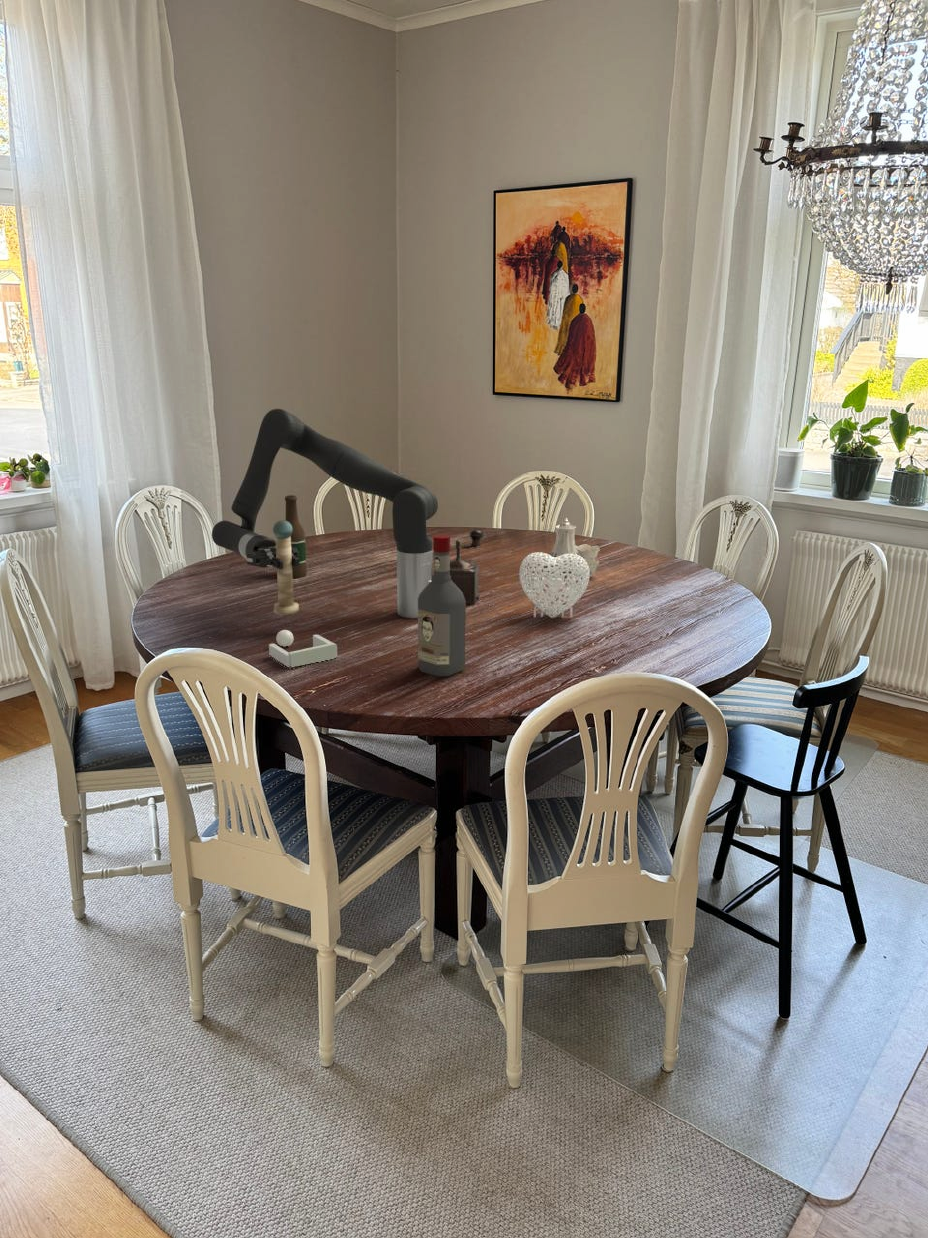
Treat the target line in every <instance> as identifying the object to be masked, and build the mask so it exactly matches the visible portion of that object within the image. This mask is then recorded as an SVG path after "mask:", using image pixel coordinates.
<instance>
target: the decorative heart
mask: <svg viewBox="0 0 928 1238" xmlns="http://www.w3.org/2000/svg"><path fill="white" fill-rule="evenodd" d="M568 556H569V557H568ZM568 558H571V559H570V560H568ZM578 560H579V561H580V562H579V561H578ZM547 561H548V563H547ZM563 561H566V562H563ZM569 561H571V563H569ZM575 561H576V562H575ZM556 562H557V563H556ZM520 563H521V564H520V566H519V571H518V573H519V575H518V576H519V583H520V585H521V588H522V590H523V592H524V594H525V595H526V596H527V598H528V599H529V600H530V602H531V603H533V605H534V606H533V607H534V608H533V618H537V609H538V610H539V611H541V612H540V617H541V618H543V617H544V614H545V615H547V616H548V617H550V619H555V618H557V616H560V615H561V618H563V619H564V618H565V611H567V610H569V609H570V611H569V618H570V619H572V618H573V609H574V608H573V606H574V605H575V604H576V603H577V602H578V601H579V600H580V599H581V597H582V596H583V595H584V593H585V592H586V590H587V588H588V585H589V582H590V577H591V575H590V571H589V566H588V564H587V562H586V561H585V560H584V559H583V558H582V557H581V556H579V555H577V554H564V555H561V556H558V557H552V556H550V555H549V554H548V553H545V552H541V551H540V552H531V553H530V554H527V556H525V557H524V559H523V560H522V561H521V562H520ZM573 563H575V564H573ZM577 563H579V565H578V564H577ZM581 563H582V564H581ZM565 564H567V565H565ZM551 565H553V567H551ZM555 565H558V566H557V567H556V566H555ZM570 565H572V566H570ZM574 565H576V566H574ZM573 567H574V568H573ZM559 568H561V569H559ZM564 568H566V569H564ZM578 568H579V569H578ZM569 569H570V570H569ZM576 570H577V571H576ZM581 570H582V571H581ZM564 571H566V573H562V572H564ZM569 571H571V572H569ZM578 571H579V572H578ZM568 572H569V573H568ZM576 574H577V576H576ZM579 575H580V577H579ZM565 577H566V578H565ZM581 577H582V578H581ZM584 577H585V578H584ZM566 585H567V586H566ZM544 590H545V591H544ZM560 590H561V592H559V591H560ZM564 603H565V604H564Z"/></svg>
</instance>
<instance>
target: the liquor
mask: <svg viewBox="0 0 928 1238" xmlns="http://www.w3.org/2000/svg"><path fill="white" fill-rule="evenodd" d="M432 538H433V539H432V542H433V577H432V578H433V580H432V581H431V582H430V583H429V584H428V585H427V586H426V587H425V588H424V589H423V591H422V592H421V593H420V594H419V597H418V618H417V664H418V669H419V671H420V672H421V673H425V674H428V675H431V676H434V677H438V678H439V677H451V676H453V675H455V674H458V673H460V672H462V671H464V669H465V668H466V615H467V613H466V611H467V610H466V608H467V605H466V601H465V598H464V595H463V593H462V591H461V590H460V589H459V588H458V587H457V586H456V585H455V584H454V583H453V582H452V580H451V576H450V561H451V560H450V555H451V554H450V552H451V536H450V535H448V534H435V535H433V537H432Z"/></svg>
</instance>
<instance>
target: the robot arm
mask: <svg viewBox="0 0 928 1238" xmlns="http://www.w3.org/2000/svg"><path fill="white" fill-rule="evenodd" d="M280 449H283V450H286V451H290V452H292V453H294V454H297V455H299V456H301V457H304V458H305V459H308V460H309V461H311V462H312V463H313V464H314V465H315V466H316V467H318V468H319V469H321V470H322V471H323V472H324V473H325V474H327V475H328V476H329V477H331V478H333V479H334V480H336V481H338V482H339V483H341V484H343V485H344V486H346V487H349V488H350V489H353V490H355V491H359V492H362V493H365V494H370V495H375V496H378V497H380V498H384V499H385V500H388V501H390V502H391V503H392V508H391V509H392V510H391V511H392V512H391V513H392V514H391V515H392V532H393V538H394V541H395V543H396V580H397V581H396V584H397V587H396V588H397V589H396V592H397V595H396V597H397V614H398V616H400V617H403V618H406V619H407V618H408V619H418V597H419V594H420V593H421V592H422V591H423V589H424V588H425V587H426V586H427V585H428V584H429V583H430V582H431V581H432V580H433V578H432V577H433V574H434V551H433V539H432V538H431V537H430V536H428V533H427V532H428V531H427V521H428V520H430V519H431V518H432V517H434V515H436V514H437V511H438V509H439V503H438V498H437V496H436V495H435V493H434V492H433V491H432V490H431V489H430V488H429V487H427V486H425V485H423V484H420V483H419V482H416V481H414V480H411V479H409V478H406V477H405V476H402V475H400V474H398V473H395V472H394V471H392V470H390V469H389V468H387V467H386V466H384V465H382V463H381V464H380V463H379V462H378V461H375V460H373V459H372V458H370V457H369V456H367V455H366V454H364V453H362V452H360V451H359V450H357V449H355V448H353V447H352V446H349V445H347V444H345V443H343V442H340V441H338V440H335V439H332V438H329V437H327V436H324V435H323V434H321V433H320V432H318V431H316V430H315V429H313V428H312V427H311V426H309V425H307V424H306V423H305V422H304V421H302V420H301V419H300V418H298V417H297V416H296V415H294V414H292V413H291V412H289V411H287V410H285V409H283V408H273V409H271V410H269V411H268V412H266V414H265V415H264V416H263V418H262V421H261V423H260V427H259V430H258V435H257V438H256V440H255V444H254V447H253V451H252V455H251V458H250V461H249V464H248V468H247V470H246V473H245V475H244V478H243V480H242V482H241V484H240V486H239V489H238V491H237V493H236V495H235V498H234V500H233V502H232V504H231V511H232V512H233V514H235V515H236V516H238V517H239V518H240V519H241V525H239V524H236V523H235V522H232V521H229V520H221V521H217V522H216V524H214V526H213V528H212V531H211V539H212V541H213V542H214V544H215V545H216V546H218V547H221V548H223V549H226V550H229V551H232V552H233V553H235V554H237V555H238V556H241V557H242V558H244V559H245V560H246V565H250V566H254V567H258V568H263V569H264V568H275V569H277V568H278V569H283V561H282V560H280V559H278V558H276V539H273V538H270V537H269V536H266V535H264V534H261V533H257V532H255V528H256V524H257V519H258V518H257V517H258V514H259V512H260V510H261V508H262V506H263V504H264V503H265V502H264V501H265V500H266V497H267V494H268V491H269V486H270V482H271V481H270V479H271V473H272V469H273V464H274V462H275V458H276V457H277V455H278V452H279V451H280ZM291 554H292V566H294V567H299V565H300V562H299V552H298V550H297V548H296V547H292V549H291Z"/></svg>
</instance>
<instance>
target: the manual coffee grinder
mask: <svg viewBox="0 0 928 1238" xmlns="http://www.w3.org/2000/svg"><path fill="white" fill-rule="evenodd" d="M469 537H470V539H471V543H470V545H461V541H460V540H456V541H455V549H456V558H454V559H452V560H450V576H451V580H452V582H453V583H454V584H455V585H456V586H457V587H458V588H459V589H460V590H461V591H462V593H463V595H464V598H465V601H466V606H474V605H475V604H476V603H477V601H478V599H480V594H479V593H480V592H479V567H480V563H479V562H471V561H472V559H470V560H467V559H465V558H461V553H460V552H461V550H469V549H472V548H474V549H476V548H478V547H481V540H482V539H483V537H484V532H483V531H481V529H472V530H470V532H469Z"/></svg>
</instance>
